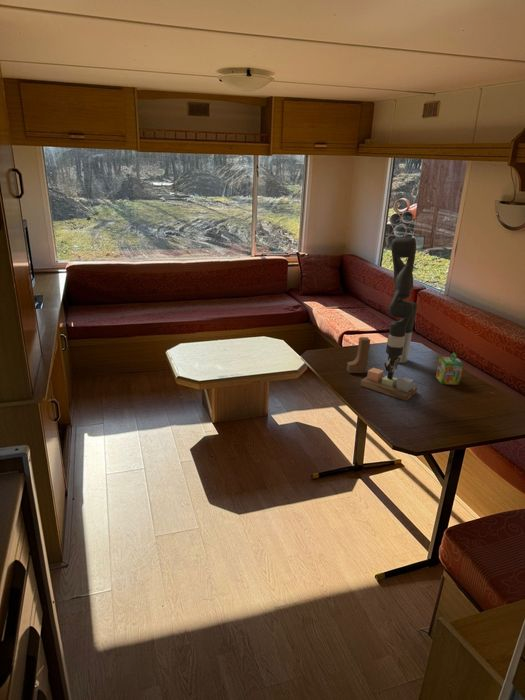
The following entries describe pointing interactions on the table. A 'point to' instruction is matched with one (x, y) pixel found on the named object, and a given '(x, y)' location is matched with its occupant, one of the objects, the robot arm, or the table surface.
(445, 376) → the chalk box
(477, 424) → the table surface
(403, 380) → the slate key
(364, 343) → the wooden block
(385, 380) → the sage key
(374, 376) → the terracotta key
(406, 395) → the wooden tray
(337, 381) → the table surface
